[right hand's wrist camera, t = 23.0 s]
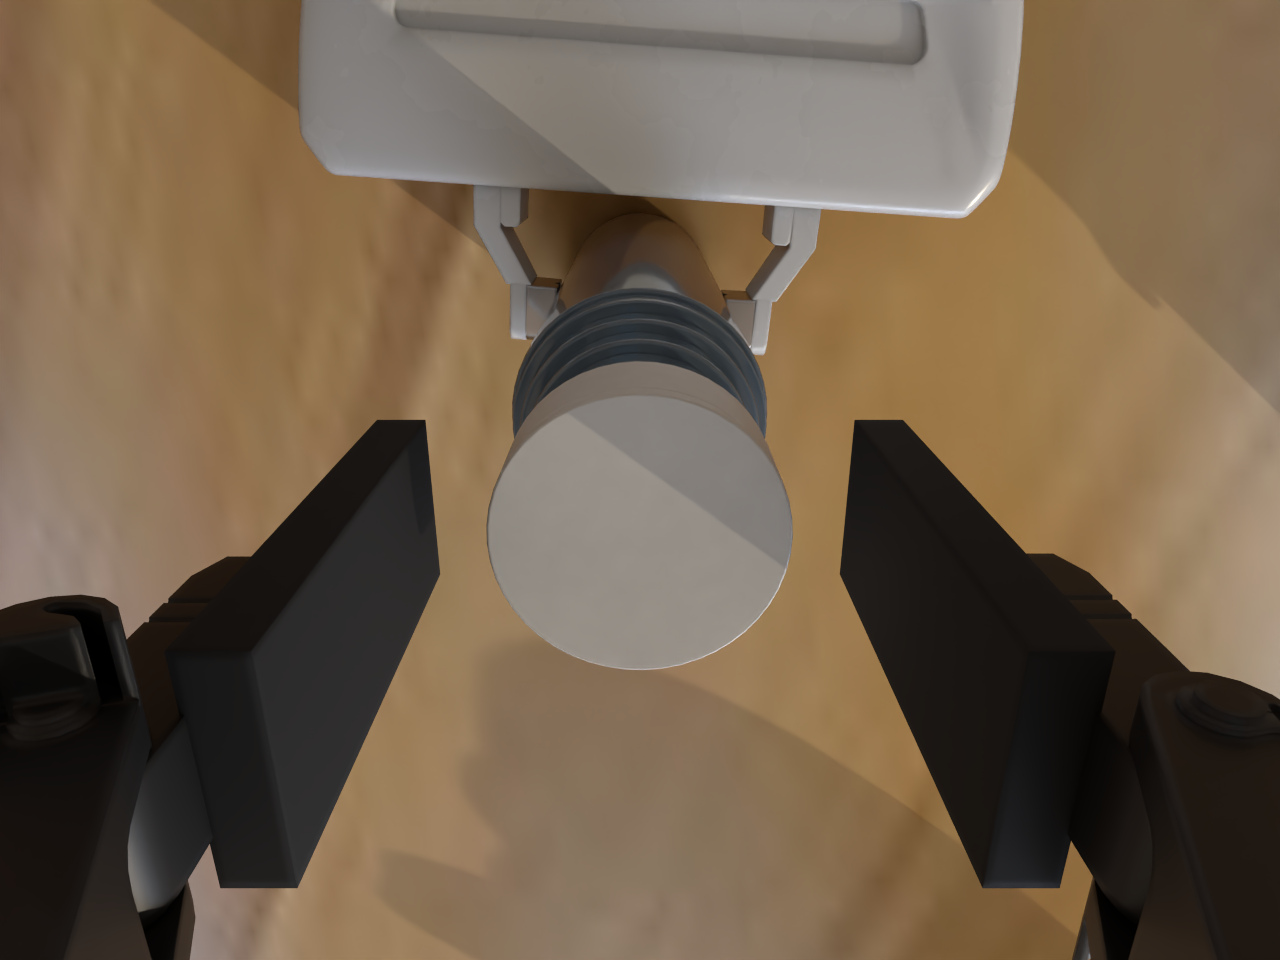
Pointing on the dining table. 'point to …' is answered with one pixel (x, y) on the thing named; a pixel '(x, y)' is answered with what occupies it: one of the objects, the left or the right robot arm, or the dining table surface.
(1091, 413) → the dining table surface
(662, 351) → the bottle
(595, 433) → the cap
